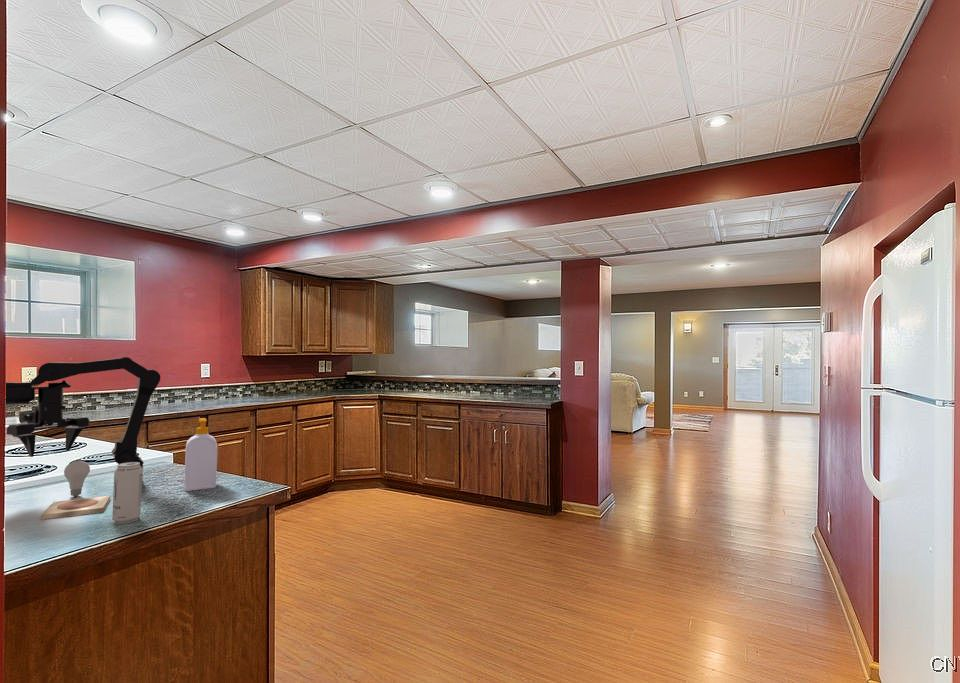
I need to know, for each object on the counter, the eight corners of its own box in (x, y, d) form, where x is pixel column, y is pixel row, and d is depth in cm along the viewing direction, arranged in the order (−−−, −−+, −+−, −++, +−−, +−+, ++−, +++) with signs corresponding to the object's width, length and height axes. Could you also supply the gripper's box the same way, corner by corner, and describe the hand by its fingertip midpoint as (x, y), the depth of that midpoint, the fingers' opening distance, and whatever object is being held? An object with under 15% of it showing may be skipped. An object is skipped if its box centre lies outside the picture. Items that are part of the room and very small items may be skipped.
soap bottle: (214, 483, 163) (217, 416, 164) (216, 487, 158) (218, 419, 158) (184, 486, 159) (186, 418, 159) (184, 491, 153) (187, 420, 154)
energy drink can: (110, 520, 125) (113, 463, 126) (138, 515, 130) (140, 460, 130) (113, 526, 121) (116, 467, 122) (142, 521, 125) (144, 464, 126)
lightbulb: (93, 495, 147) (95, 459, 148) (71, 500, 141) (72, 463, 142) (80, 493, 149) (82, 458, 150) (57, 498, 143) (59, 461, 144)
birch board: (110, 499, 143) (110, 495, 143) (102, 511, 132) (103, 507, 132) (53, 505, 136) (53, 501, 136) (40, 519, 125) (41, 514, 125)
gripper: (69, 399, 157) (68, 445, 157) (-4, 405, 140) (-5, 458, 139) (91, 400, 153) (90, 448, 153) (18, 406, 136) (17, 461, 135)
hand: (50, 453), depth 145 cm, fingers open, 9 cm apart
